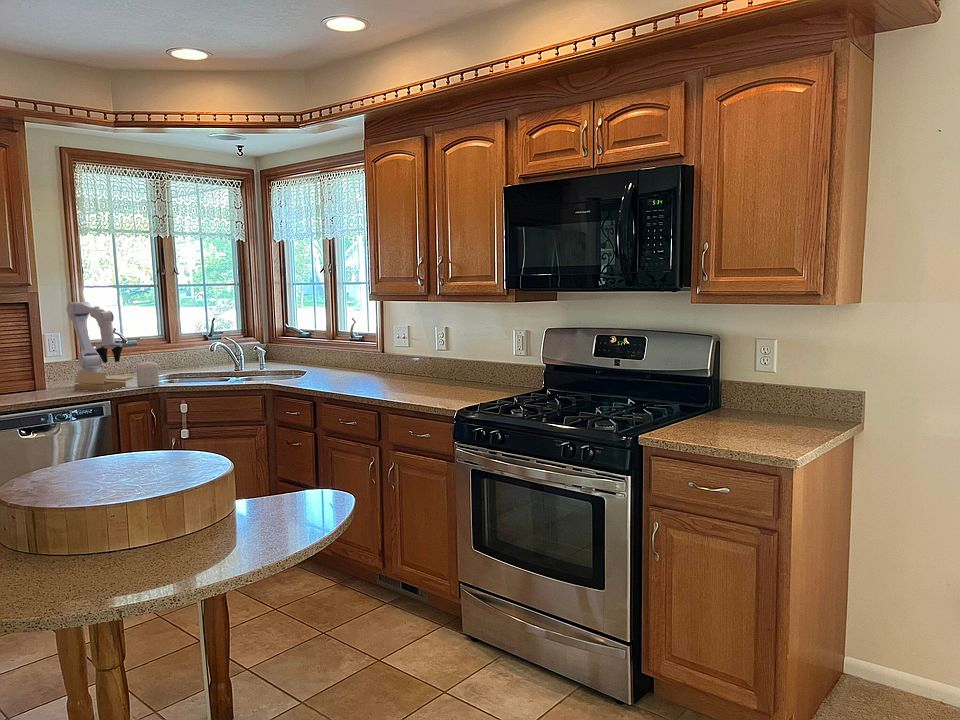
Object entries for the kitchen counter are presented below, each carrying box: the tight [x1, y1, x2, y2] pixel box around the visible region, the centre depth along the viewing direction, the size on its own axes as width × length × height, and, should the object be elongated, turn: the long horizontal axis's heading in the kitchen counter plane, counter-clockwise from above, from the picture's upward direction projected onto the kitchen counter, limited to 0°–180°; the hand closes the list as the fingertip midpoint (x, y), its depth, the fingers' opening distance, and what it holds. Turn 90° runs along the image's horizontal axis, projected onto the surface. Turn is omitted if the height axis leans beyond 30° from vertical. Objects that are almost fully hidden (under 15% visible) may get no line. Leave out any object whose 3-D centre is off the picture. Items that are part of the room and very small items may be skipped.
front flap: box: [74, 371, 108, 384], centre depth 360 cm, size 17×6×1 cm
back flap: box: [105, 374, 134, 382], centre depth 375 cm, size 17×6×1 cm, turn 71°
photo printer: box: [136, 361, 160, 387], centre depth 376 cm, size 10×4×12 cm, turn 123°
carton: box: [73, 380, 127, 392], centre depth 366 cm, size 18×14×3 cm
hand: (111, 362), depth 367 cm, fingers open, 7 cm apart
